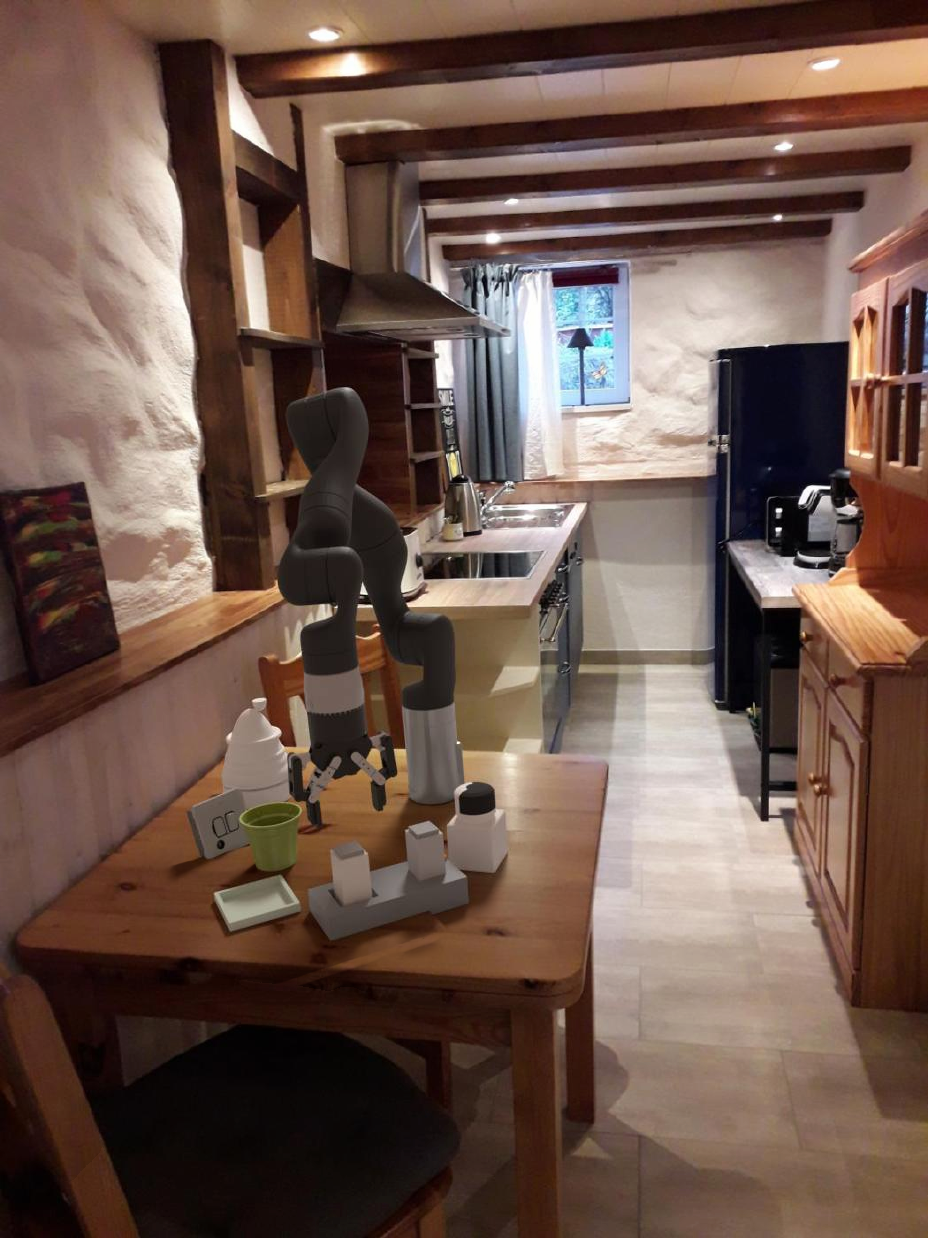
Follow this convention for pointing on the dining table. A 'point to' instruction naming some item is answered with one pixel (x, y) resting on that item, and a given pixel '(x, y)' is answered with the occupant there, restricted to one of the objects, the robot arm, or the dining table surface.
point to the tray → (256, 902)
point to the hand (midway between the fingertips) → (348, 817)
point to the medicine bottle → (477, 829)
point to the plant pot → (272, 834)
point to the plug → (350, 873)
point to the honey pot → (256, 759)
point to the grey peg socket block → (397, 888)
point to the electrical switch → (219, 824)
